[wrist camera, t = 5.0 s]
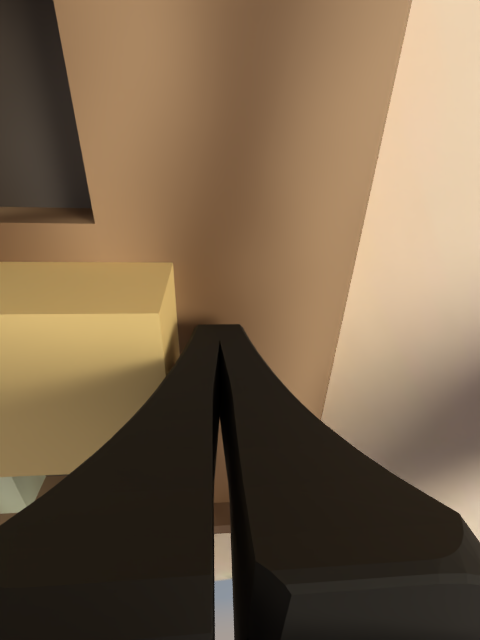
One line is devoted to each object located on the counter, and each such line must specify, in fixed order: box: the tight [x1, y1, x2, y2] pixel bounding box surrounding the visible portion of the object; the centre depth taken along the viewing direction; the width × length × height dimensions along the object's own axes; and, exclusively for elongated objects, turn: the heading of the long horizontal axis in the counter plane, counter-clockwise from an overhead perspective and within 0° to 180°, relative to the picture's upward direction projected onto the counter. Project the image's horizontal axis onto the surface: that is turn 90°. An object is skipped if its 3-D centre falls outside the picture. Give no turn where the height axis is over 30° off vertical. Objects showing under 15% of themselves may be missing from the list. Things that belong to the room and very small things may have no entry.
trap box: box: [0, 0, 412, 534], centre depth 10 cm, size 20×19×4 cm
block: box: [0, 262, 180, 477], centre depth 9 cm, size 5×5×3 cm
